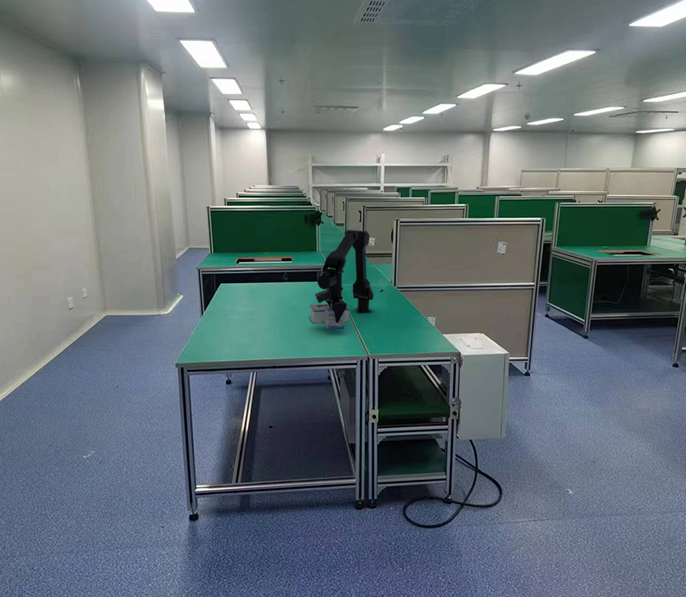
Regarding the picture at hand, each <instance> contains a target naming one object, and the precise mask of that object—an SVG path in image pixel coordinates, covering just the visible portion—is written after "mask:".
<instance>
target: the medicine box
mask: <svg viewBox="0 0 686 597" xmlns="http://www.w3.org/2000/svg"><path fill="white" fill-rule="evenodd" d="M345 323H346V322H345V311H344V313H343V314H342V316H341V319H340V321H339V323H336V321H335V315H334V311H333V310H332V309H331V308H325V323H324V327H325V328H326V329H327V330H332V329H331V328H338V329H345V328H344V327H346V324H345Z"/></svg>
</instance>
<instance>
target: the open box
mask: <svg viewBox="0 0 686 597" xmlns="http://www.w3.org/2000/svg"><path fill="white" fill-rule="evenodd" d="M325 308H329V304H328V303H316V304H310V308H309V312H310V316H309V317H310V319H311V320H313V321H312V323H313V322H314V323H313V324H324V323H323V322H325ZM345 321H350V308H349V307H348V306H347V309H346V310H345Z"/></svg>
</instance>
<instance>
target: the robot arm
mask: <svg viewBox="0 0 686 597" xmlns="http://www.w3.org/2000/svg"><path fill="white" fill-rule="evenodd" d="M344 233H345V234H344V236H343V238H342V240H341V241H340V243H339V244H338V246H337V248H336V249H334V250H333V251H331V252H330V253H329V254H328V255H327V257H326V258H325V261H324V264H323V267H322V270H321V276H319V277H318V279H317V285H318V287H319V288H320V289H321V291H319V292H317V293H315V294H314V296H315V299H316V301H317V302H318V303H317V304H322V303H323V302H324V301H325V302H326V304H329V308H331V309H332V310H333V311H334V315H335V321H336V323H339V321H340V319H341V316H342V314H343V313H344V311H345V310H346V309H347V307H348V306H347V305H348V304H347V302H346V301H344V297H343V292H342V291H343V290H344V287H343V273H345V272H344V268H345V266H346V262H347V259H346V257H347V255H348V253H349V251H350V250H351V248H353V249H354V253H355V254H354V256H355V258H354V259H355V278H356V279H355V281H354V283H353V284H352V295H353V299H357V302H356V303H357V306H356V307H355V310H356V311H357V313H371V312H372V310H371V309H370V301H372V300H374V296H375V294H374V292H373V290H372V288H371V287H372V286H371V283H370V281H369V279H368V278H367V277H368V276H367V259H366V258H367V255H366V249H367V247H368V246H369V243H370V234H369V232H368V231H367V230H359V229H358V230H357V229H356V230H355V229H348V230H346V231H345V232H344Z"/></svg>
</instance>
